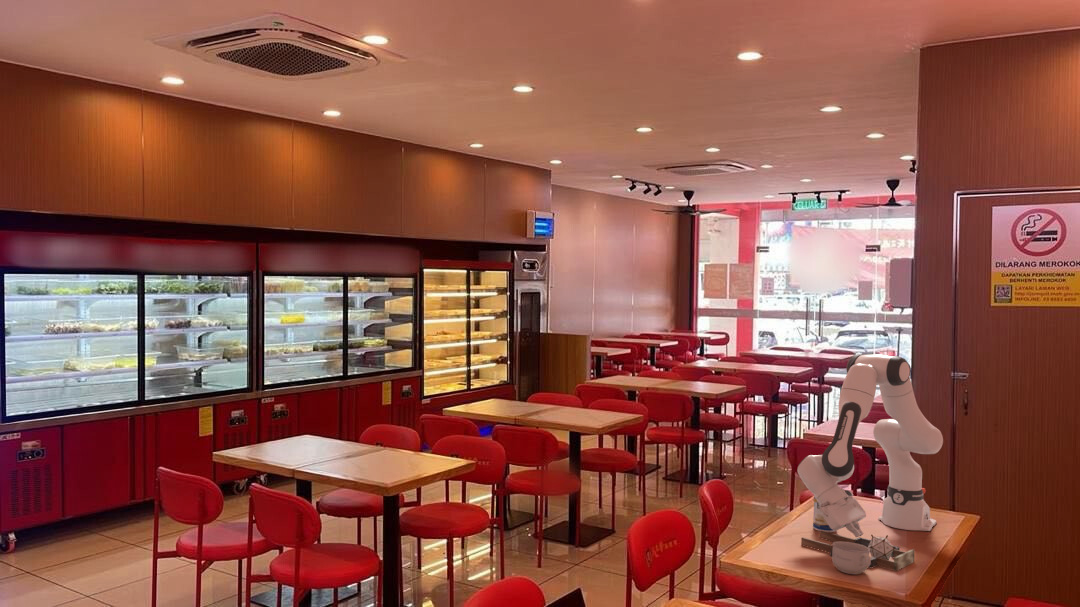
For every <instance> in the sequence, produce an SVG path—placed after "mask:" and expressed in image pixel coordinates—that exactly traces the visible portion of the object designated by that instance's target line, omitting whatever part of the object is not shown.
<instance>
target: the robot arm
mask: <svg viewBox="0 0 1080 607" xmlns="http://www.w3.org/2000/svg"><path fill="white" fill-rule="evenodd" d="M845 368H846V369H845V370H846V376H845V378H844V380H843V383H842V386H841V390H840V393H839V399H838V421H837V425H836V427H835V428H836V429H835V431H834V434H833V439H832V441H831V442H830V444H829V445H828V446H827V447H826V448H825V450H824V451H823V453H822V454H818V455H816V454H815V455H813V454H810V455H807V456H806V457H804V458H803V459H802V460H801V461H800V462H799V464H798V466H797V474H798V476H799V478H800V479H801V481H802V483H803V484H804V485H805V486H806V488H807V489H808V490H809V491H810V492H811V494H813V496H814V497H815V498H816V500H817V501H818V503H819V504H820V509H821V511H822V515H823V517H824V519H825V521H826V522H827V524H828V525H829V527H830V528H831V529H832V530H834V531H835V532H837V531H838V530H841V529H844V528H846V530H847V531H849V532H850V533H851V534H853V535H854V537H855V538H859V537H862V536H863V535H864V531H863V530H862V529H861V525H860V522H861V521H862V520H864V519H865V518H866V517H867V513H866V510H865V509H864V508H863V506H862V505H861V504H860V503H859V501H858V500H857V499H856V498H855V497H854V494H853V492H852V491H851V490H849V489H845V488H841V487H840V486H839V483H841V482H843V481H846V480H848V479H849V478H850V477H852V476H853V473H854V471H855V458H854V453H853V446H854V440H855V437H856V433H857V430H858V427H859V424H860V423H861V422H862V420H864V419H866V418H867V417H868V415H869V414H870V411H871V410H872V406H873V403H874V400H875V396H876V390H877V386H879V391H880V396H881V399H882V403H883V409H884V411H885V412H886V414H887V415H888V416H890V417H891V418H887V419H886V418H884V419H882V418H881V419H880V420H878V421H877V422H876V423H875V424H874V426H873V437H874V440H875V441H876V443H877V444H878V445H879V446H880V447H881V449H883V451H884V453H885V455H886V458H887V462H888V468H889V469H888V470H889V473H888V474H889V477H888V478H889V480H888V482H889V484H888V485H887V490H886V491H887V497H885V498H884V499H883V504H882V511H881V512H882V513H881V515H880V516H878V519H879V520H878V521H880V520H881V523H883V524H884V525H886V526H887V527H892V528H895V529H900V530H906V531H922V532H930V531H931V530H932V529H933V528H934V527H935V525H937V520H936V519H934V518H931V509H930V508H931V507H930V506H929V505H928V503H926V501H925V499H924V494H926V488H924V487H923V486H922V485H923V482H922V480H923V470H922V467H921V465H920V464H918V462H916V461H915V460H914V459H913V456H912V455H911V453H915V454H920V455H935V454H937V453H938V452H939V451H940V450H941V449H942V446H943V444H944V438H943V437H944V436H943V434H942V431H941V430H940V429H938V428H937V427H936V426H934V425H933V424H932V423H931V422H930V421H929V420H928V419H927V418H926V417H925V416H924V414H923V413H922V411H921V409H920V408H919V406H918V403H917V400H916V397H915V392H914V388H913V384H912V381H911V378H910V376H911V366H910V364H909V362H908V361H907V359H906V358H904V357H901V356H899V355H887V354H880V353H877V354H863V353H860V354H855V355H852V356H851V357H850V358H849V359H848V361H847V364H846V367H845ZM933 526H934V527H933ZM932 527H933V528H932Z"/></svg>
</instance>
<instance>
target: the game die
mask: <svg viewBox="0 0 1080 607" xmlns="http://www.w3.org/2000/svg"><path fill="white" fill-rule="evenodd" d="M870 537H871V539H870V540H871V541H870V543H869V545H868V548H869V549H870V552H869V555H871V557H872V558H874V557H879V558H882V559H886V560H890V557H891V554H892V552H893V550H894V549H897V548H893V546H894V545H892V544H891V541H889V539H888V537H889V536H888V535H885V537H884V536H874V535H873V534H870Z"/></svg>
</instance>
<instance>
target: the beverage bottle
mask: <svg viewBox="0 0 1080 607" xmlns="http://www.w3.org/2000/svg"><path fill="white" fill-rule="evenodd" d="M812 519H813V522H812V523H813V524H812V528H813V530H816V531H818V532H820V531H825V532H829V533H834V532H836V531H834V530H832V529H831V528H830V527H829V525H828V524H827V522H826V521H825V519H824V517H823V515H822V511H821V509H820V504H819V503H818V501H817V500H816V498H815V496H814V497H813V518H812Z"/></svg>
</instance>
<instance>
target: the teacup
mask: <svg viewBox="0 0 1080 607" xmlns="http://www.w3.org/2000/svg"><path fill="white" fill-rule="evenodd" d="M831 545H833V550H832V557H831V561H832V564H833V565H834V567H836V568H837V570H838V571H839V572H842V573H845V574H850V575H860V574H862V573H864V572H865V571H866V570H867V569H868V568H870V567H869V566H870V564H871V559H872V558H871V557H870V549H869V548H868V547H866V546H863V545H860V544H856V543H851V542H842V541H838V542H833V541H832V544H831Z"/></svg>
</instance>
